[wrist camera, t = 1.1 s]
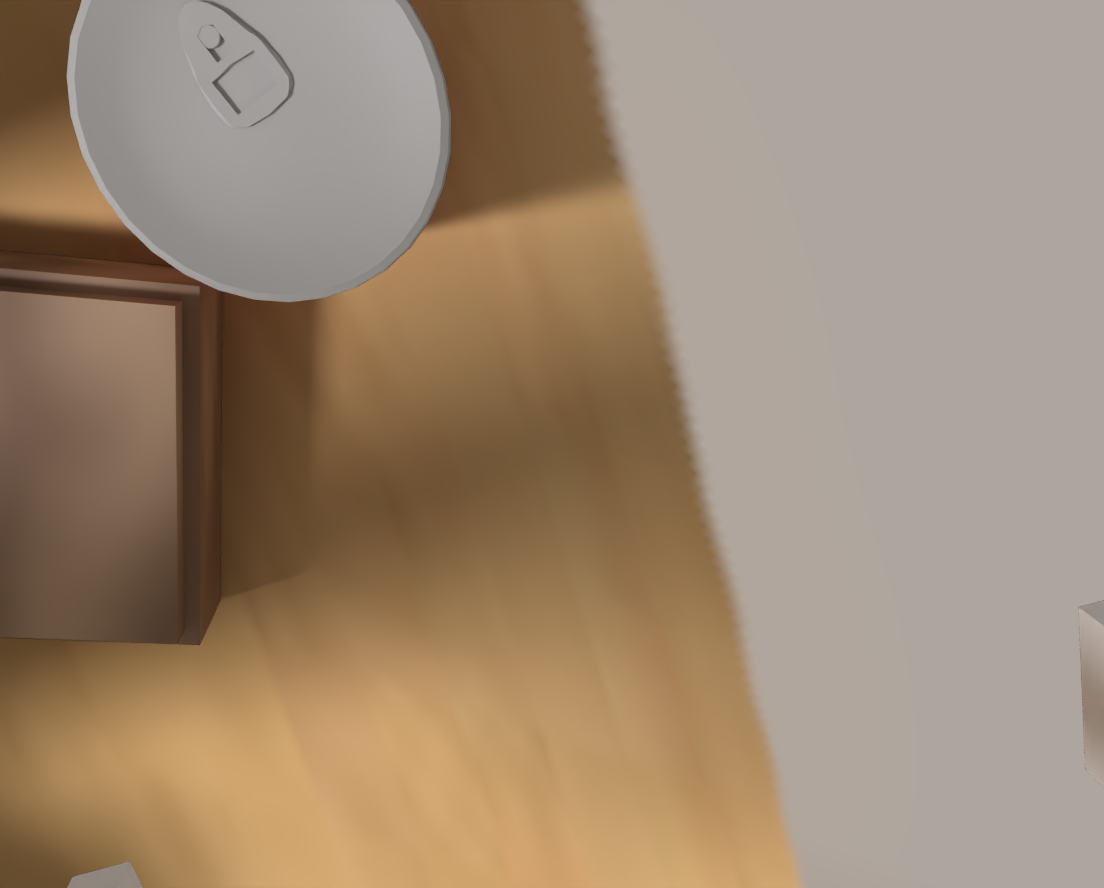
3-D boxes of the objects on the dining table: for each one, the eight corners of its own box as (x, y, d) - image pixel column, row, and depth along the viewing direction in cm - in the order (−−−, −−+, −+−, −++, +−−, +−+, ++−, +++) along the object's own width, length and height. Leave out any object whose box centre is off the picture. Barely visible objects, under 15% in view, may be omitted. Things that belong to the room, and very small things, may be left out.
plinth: (-140, 584, 32) (-215, 643, 29) (-182, 233, 29) (-274, 248, 25) (220, 600, 34) (194, 657, 31) (222, 271, 31) (193, 290, 27)
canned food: (285, -74, 28) (199, -197, 18) (496, 108, 30) (529, 95, 20) (142, 136, 29) (-18, 137, 19) (354, 294, 31) (317, 374, 21)
